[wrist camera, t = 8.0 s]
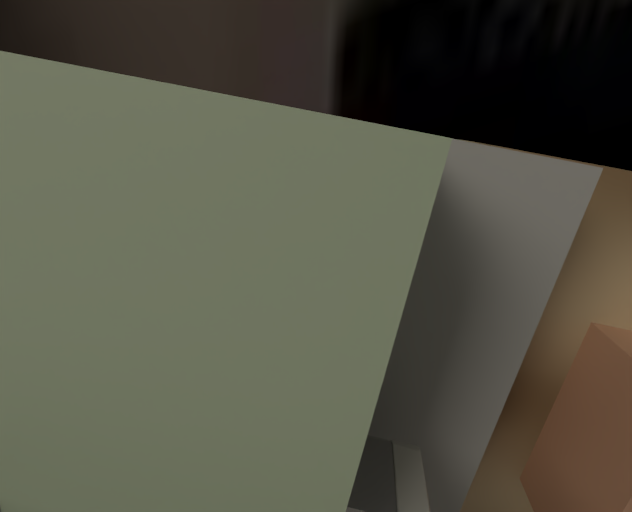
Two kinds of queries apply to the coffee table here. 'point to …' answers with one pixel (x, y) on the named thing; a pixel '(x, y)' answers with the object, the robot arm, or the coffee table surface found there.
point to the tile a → (587, 432)
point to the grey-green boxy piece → (253, 295)
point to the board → (561, 338)
